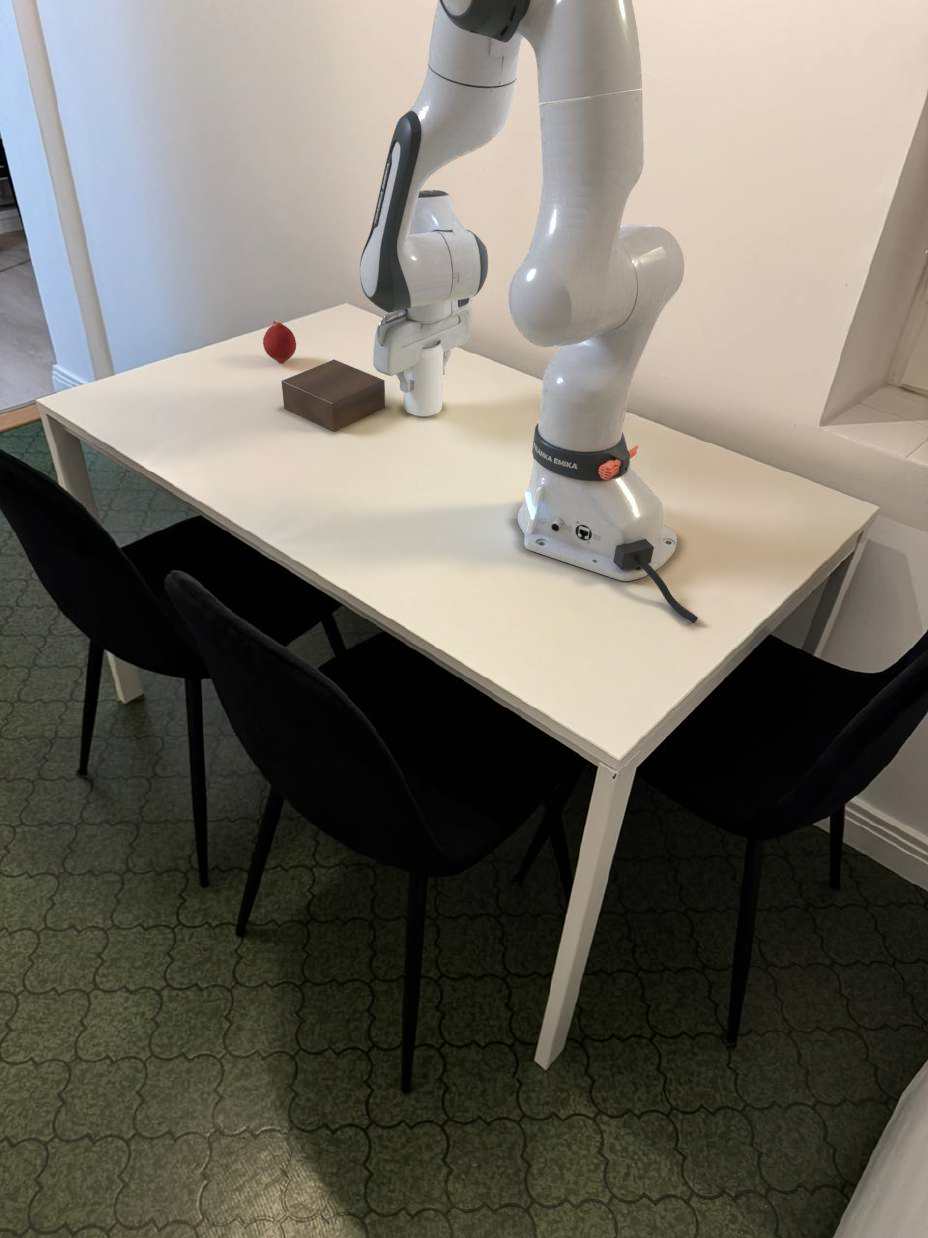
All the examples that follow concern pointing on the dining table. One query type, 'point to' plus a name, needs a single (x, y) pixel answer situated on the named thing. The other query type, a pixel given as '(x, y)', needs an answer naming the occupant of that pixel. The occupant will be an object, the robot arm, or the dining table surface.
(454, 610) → the dining table surface
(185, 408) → the dining table surface
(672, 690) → the dining table surface
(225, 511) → the dining table surface
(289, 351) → the onion
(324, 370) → the brown square block
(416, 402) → the can
